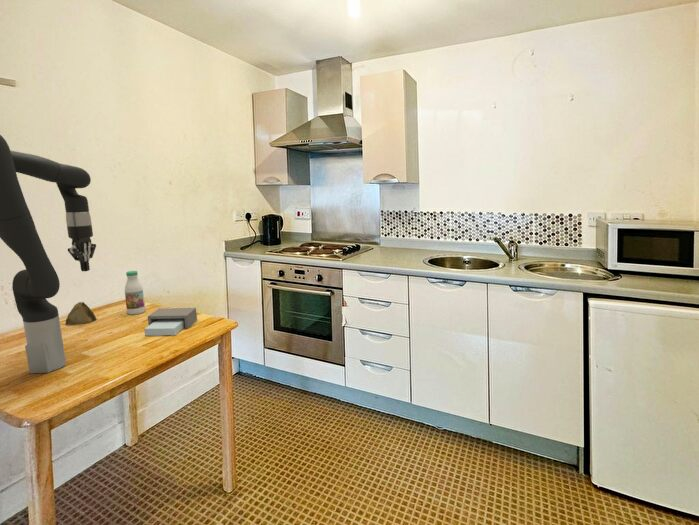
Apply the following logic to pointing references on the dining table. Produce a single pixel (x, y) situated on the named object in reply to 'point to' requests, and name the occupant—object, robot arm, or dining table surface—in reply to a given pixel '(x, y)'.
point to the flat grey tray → (165, 327)
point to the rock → (80, 314)
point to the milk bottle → (134, 294)
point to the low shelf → (174, 315)
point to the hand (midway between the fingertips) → (85, 270)
